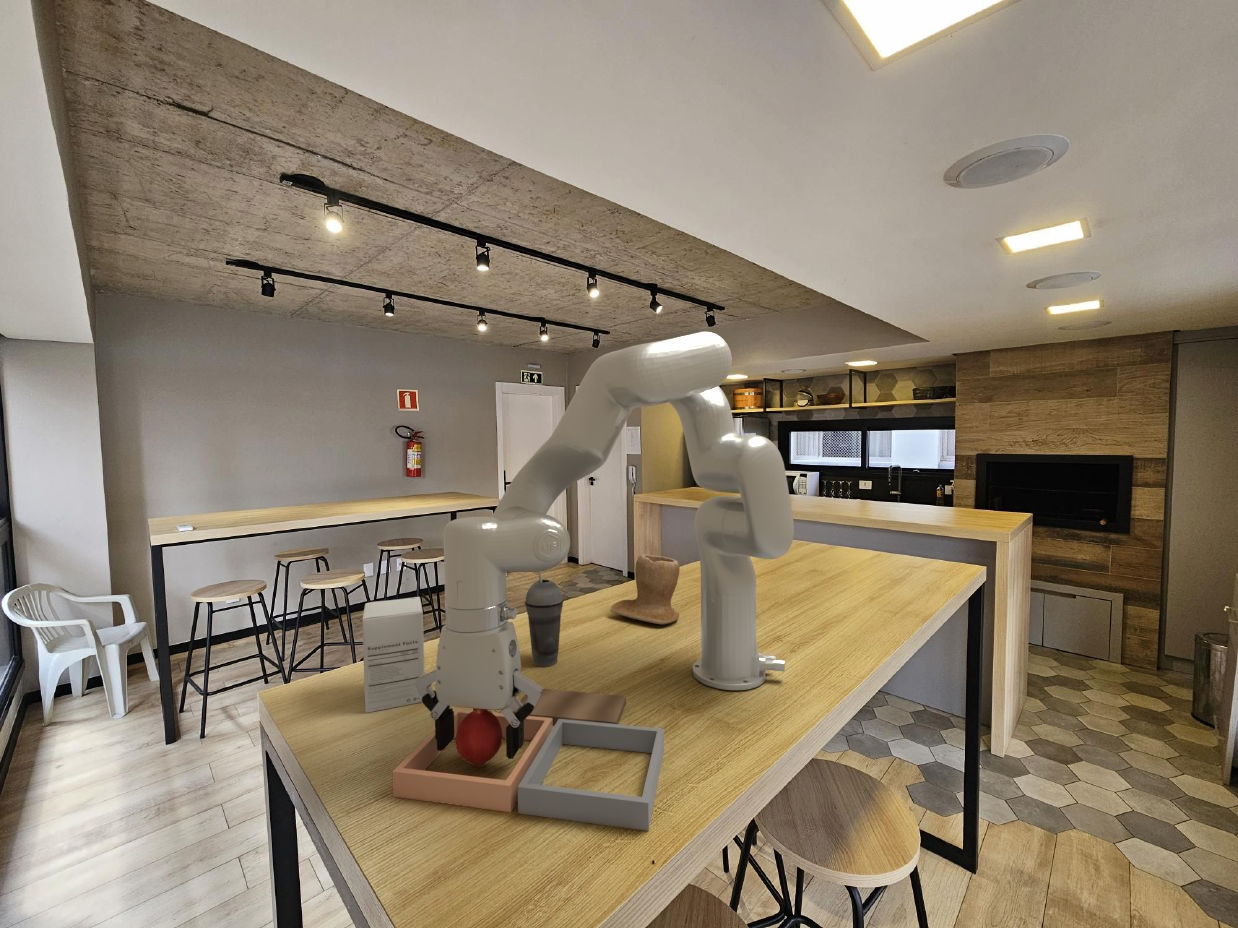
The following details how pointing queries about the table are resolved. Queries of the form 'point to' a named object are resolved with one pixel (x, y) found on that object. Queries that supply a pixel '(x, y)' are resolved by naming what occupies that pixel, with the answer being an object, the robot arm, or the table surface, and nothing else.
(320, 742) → the table surface
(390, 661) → the supplement box
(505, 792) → the terracotta crate
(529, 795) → the frame
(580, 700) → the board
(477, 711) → the onion
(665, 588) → the brown boot-shaped piece
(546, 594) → the beverage cup
